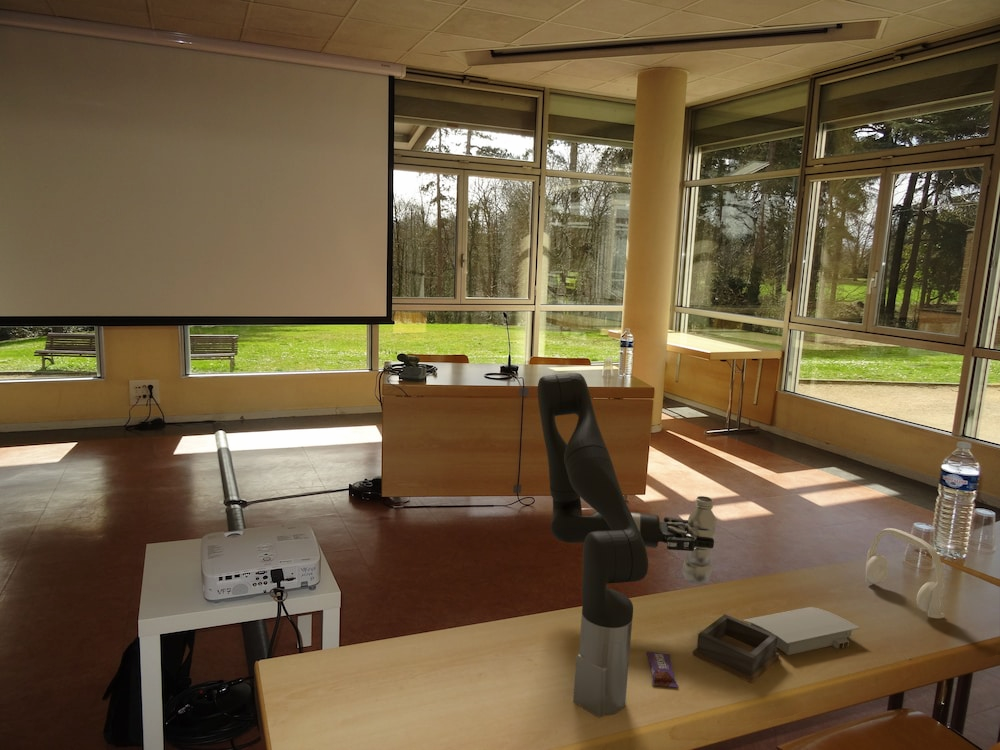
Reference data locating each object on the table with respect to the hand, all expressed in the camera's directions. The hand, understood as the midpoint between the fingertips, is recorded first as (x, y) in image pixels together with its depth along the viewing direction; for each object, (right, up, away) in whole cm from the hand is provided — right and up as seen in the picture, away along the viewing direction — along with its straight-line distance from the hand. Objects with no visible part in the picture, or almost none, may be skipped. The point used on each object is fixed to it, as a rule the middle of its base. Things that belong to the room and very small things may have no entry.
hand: (711, 537), depth 160 cm
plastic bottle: (-3, -11, +2) cm, 11 cm away
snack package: (-16, -23, -19) cm, 34 cm away
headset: (+52, -20, +15) cm, 57 cm away
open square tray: (+1, -22, -13) cm, 26 cm away
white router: (+19, -22, -3) cm, 29 cm away
